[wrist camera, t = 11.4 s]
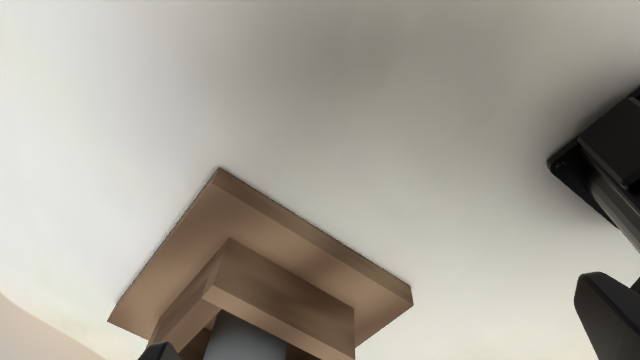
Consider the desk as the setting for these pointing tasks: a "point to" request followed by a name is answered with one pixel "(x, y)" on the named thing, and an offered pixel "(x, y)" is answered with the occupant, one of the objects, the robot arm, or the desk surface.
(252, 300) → the cradle jig
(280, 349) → the peg
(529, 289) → the desk surface
